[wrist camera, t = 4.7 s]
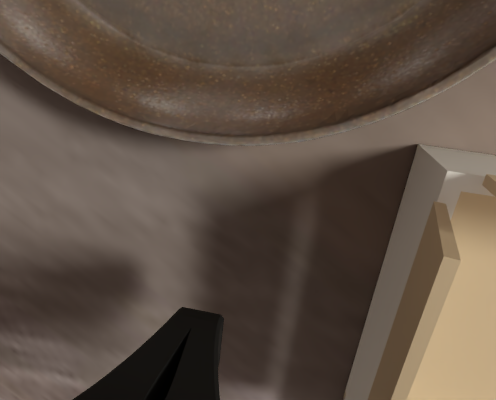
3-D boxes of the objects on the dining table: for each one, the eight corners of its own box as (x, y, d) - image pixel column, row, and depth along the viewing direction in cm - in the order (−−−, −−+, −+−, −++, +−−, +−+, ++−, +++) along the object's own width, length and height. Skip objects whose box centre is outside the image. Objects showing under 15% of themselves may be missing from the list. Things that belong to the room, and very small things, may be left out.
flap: (461, 260, 7) (443, 256, 7) (344, 558, 11) (334, 552, 11) (446, 203, 10) (433, 201, 10) (357, 458, 14) (349, 455, 14)
